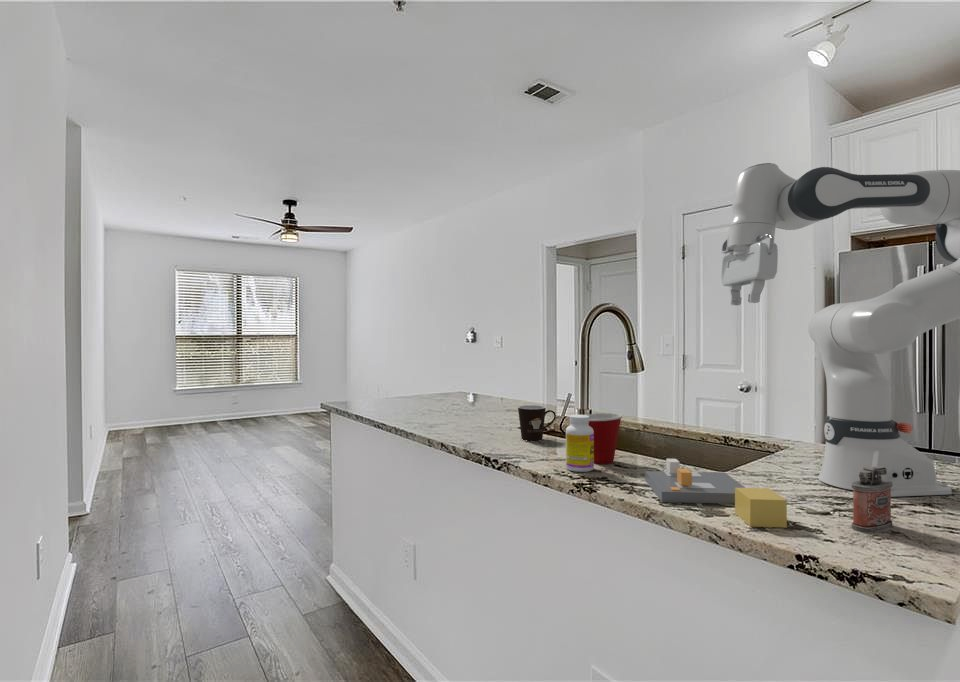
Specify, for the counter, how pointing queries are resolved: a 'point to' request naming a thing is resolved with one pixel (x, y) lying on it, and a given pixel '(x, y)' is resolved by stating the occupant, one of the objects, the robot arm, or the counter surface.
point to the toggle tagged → (684, 476)
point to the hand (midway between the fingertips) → (744, 304)
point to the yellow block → (761, 507)
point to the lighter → (872, 501)
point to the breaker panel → (693, 487)
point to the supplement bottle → (579, 444)
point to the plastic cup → (605, 436)
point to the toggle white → (672, 465)
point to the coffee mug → (533, 421)
